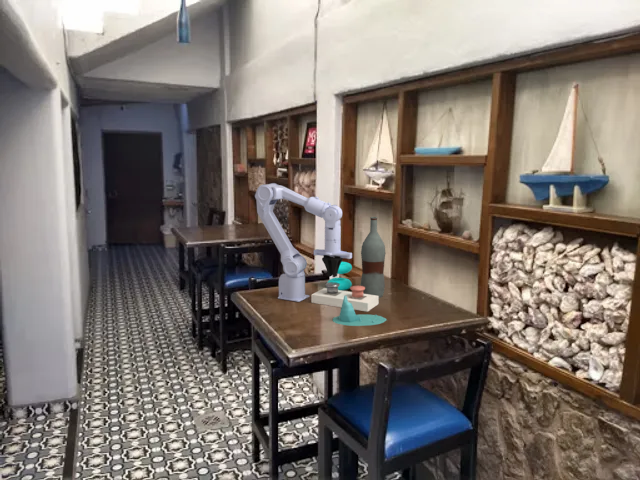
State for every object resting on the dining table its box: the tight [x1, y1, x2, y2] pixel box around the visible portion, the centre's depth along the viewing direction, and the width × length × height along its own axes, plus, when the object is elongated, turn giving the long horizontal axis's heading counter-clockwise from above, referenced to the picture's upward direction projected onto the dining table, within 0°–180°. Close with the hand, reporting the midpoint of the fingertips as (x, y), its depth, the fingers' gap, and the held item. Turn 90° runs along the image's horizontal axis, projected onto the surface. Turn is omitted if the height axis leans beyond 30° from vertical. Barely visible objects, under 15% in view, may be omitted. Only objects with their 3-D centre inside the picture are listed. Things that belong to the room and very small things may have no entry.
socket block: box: [310, 287, 380, 313], centre depth 174 cm, size 22×10×3 cm, turn 62°
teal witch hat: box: [332, 295, 388, 327], centre depth 156 cm, size 12×20×9 cm, turn 94°
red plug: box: [349, 285, 365, 298], centre depth 171 cm, size 5×5×3 cm
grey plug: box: [325, 282, 340, 294], centre depth 175 cm, size 5×5×3 cm
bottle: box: [360, 216, 386, 299], centre depth 181 cm, size 9×9×30 cm
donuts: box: [326, 261, 353, 291], centre depth 194 cm, size 10×10×10 cm
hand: (332, 276), depth 175 cm, fingers closed
